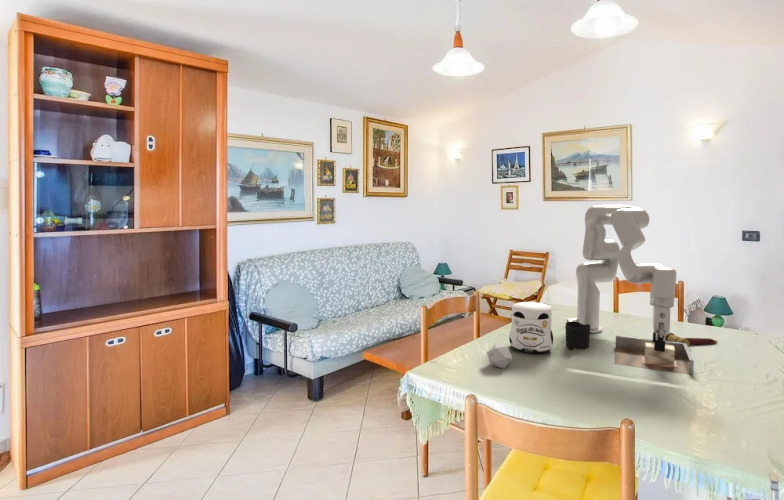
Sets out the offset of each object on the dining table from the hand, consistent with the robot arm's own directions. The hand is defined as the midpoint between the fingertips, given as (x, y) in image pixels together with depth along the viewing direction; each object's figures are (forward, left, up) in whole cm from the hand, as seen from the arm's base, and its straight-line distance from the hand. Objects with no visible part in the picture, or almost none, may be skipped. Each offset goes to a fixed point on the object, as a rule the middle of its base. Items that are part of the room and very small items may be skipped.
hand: (658, 346), depth 164 cm
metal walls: (-2, +1, -7) cm, 7 cm away
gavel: (+15, +33, -8) cm, 37 cm away
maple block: (0, -1, -6) cm, 6 cm away
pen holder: (-28, +7, -7) cm, 30 cm away
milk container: (-45, -2, -7) cm, 46 cm away
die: (-52, -26, -7) cm, 59 cm away
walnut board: (-2, +1, -7) cm, 7 cm away
